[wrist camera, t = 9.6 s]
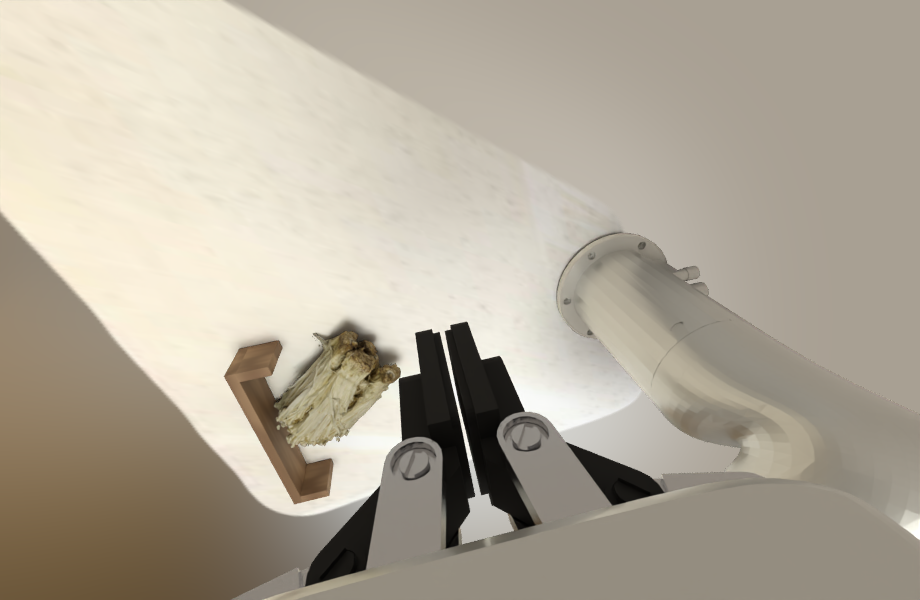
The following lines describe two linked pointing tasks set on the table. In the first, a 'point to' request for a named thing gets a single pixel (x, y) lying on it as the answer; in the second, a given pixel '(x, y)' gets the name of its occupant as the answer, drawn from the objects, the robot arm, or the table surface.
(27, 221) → the table surface
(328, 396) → the beige fibrous lump
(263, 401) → the stand
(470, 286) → the table surface
